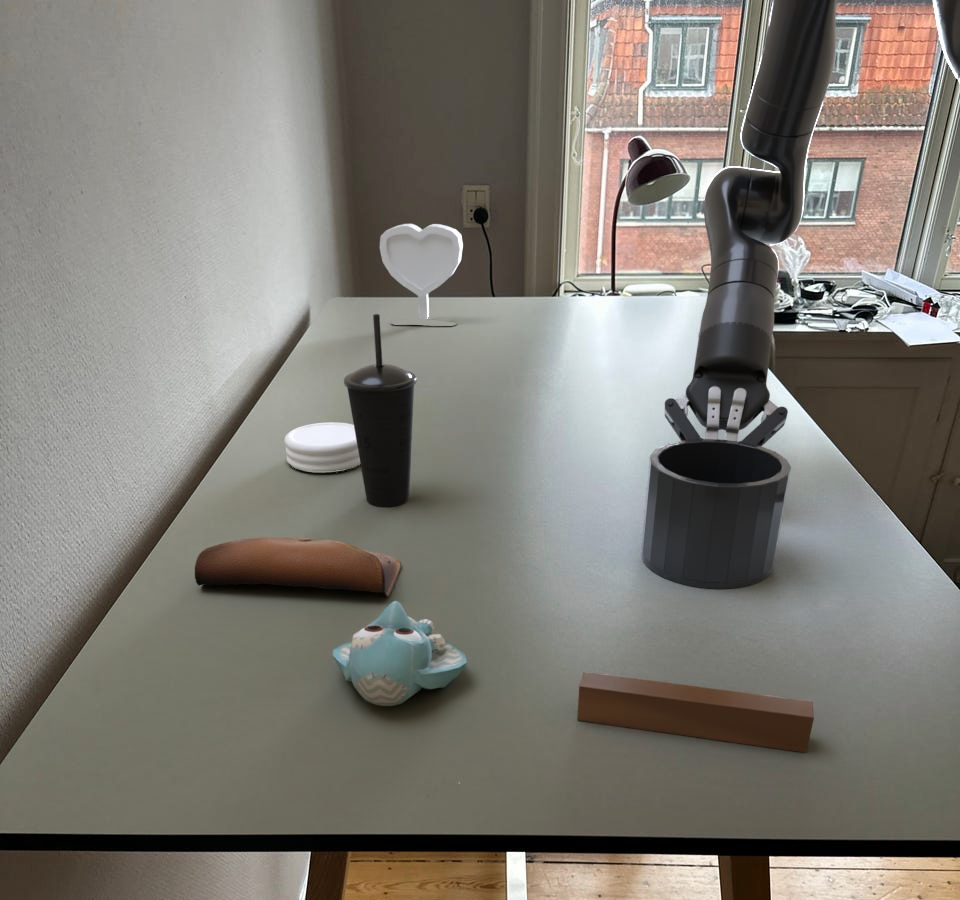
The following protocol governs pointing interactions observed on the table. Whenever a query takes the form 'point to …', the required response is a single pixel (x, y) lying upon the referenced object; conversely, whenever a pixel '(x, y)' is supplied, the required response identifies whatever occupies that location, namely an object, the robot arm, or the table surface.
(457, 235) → the heart sculpture
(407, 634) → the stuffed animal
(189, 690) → the table surface
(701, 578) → the pot
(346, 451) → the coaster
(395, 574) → the sunglasses case
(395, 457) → the drinking cup
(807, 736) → the block
